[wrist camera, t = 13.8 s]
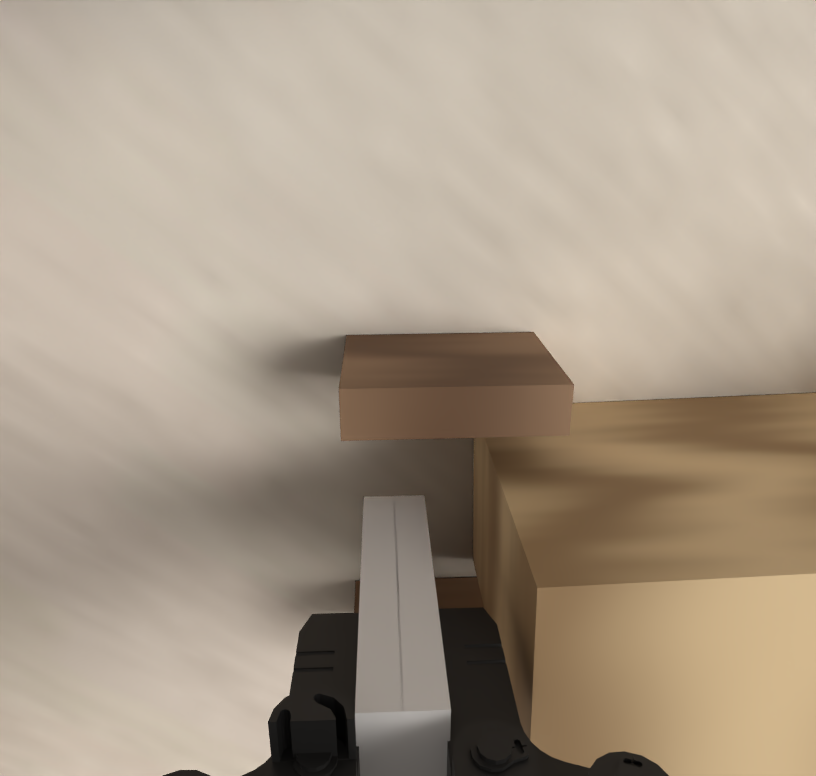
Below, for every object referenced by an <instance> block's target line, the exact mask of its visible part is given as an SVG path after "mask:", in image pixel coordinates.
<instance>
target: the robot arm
mask: <svg viewBox="0 0 816 776" xmlns="http://www.w3.org/2000/svg"><path fill="white" fill-rule="evenodd" d="M268 727H269V737H270V747H271V757H270V758H269V759H268V760H267V761H266V762H265V763H264V764H262V765H261V766H259V767H258V768H257V769H255V770H254V771H251V772H249V773H247V774H245V775H242V776H669V775H668V774H667V773H666V772H665V771H664V770H663V769H662V768H661V767H660V766H659V765H658V764H656V763H654V762H652V761H651V760H649V759H647V758H645V757H644V756H642V755H638V754H634V753H630V752H626V751H622V752H609V753H607V754H605V755H603V756H601V757H599V758H597V759H596V760H595V762H594V763H593V765H592V766H591V768H588V767H584V766H580V765H576V764H572V763H568V762H564V761H562V760H559V759H556V758H553V757H551V756H549V755H548V754H546V753H544V752H543V751H541V750H540V749H539V748H538V747H536V746H535V745H534V744H533V743H532V742H531V741H530V739H529V738H528V737H527V735H526V734H525V732H524V730H523V727H522V725H521V722H520V718H519V714H518V710H517V706H516V701H515V697H514V693H513V689H512V685H511V681H510V676H509V672H508V668H507V664H506V660H505V655H504V651H503V648H502V643H501V639H500V634H499V630H498V626H497V623H496V622H495V621H494V620H493V619H492V618H491V616H490V615H489V614H488V613H487V612H486V610H485V609H484V608H483V607H478V608H444V609H438V601H437V593H436V585H435V577H434V569H433V561H432V553H431V545H430V537H429V529H428V521H427V513H426V505H425V497H424V495H414V496H371V497H364V501H363V526H362V550H361V575H360V599H359V613H331V614H312V615H311V617H310V618H309V619H308V621H307V622H306V624H305V625H304V626H303V628H302V629H301V630H300V632H299V638H298V644H297V650H296V657H295V663H294V672H293V676H292V682H291V689H290V695H289V696H287V697H285V698H284V699H283V700H282V701H281V702H280V703H279V704H278V705H277V706H276V707H275V708H274V709H273V712H272V714H271V716H270V719H269V721H268ZM163 776H210V775H207V774H205V773H202V772H200V771H197V770H179V771H176V772H173V773H169V774H166V775H163Z"/></svg>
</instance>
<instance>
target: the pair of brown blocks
mask: <svg viewBox="0 0 816 776" xmlns="http://www.w3.org/2000/svg"><path fill="white" fill-rule="evenodd" d="M573 390H574V384H573V383H572V381H571V380H570V379H569V377H568V376H567V375H566V374H565V372H564V371H563V370H562V368H561V367H560V366H559V364H558V363H557V362H556V361H555V359H554V358H553V357H552V355H551V354H550V353H549V351H548V350H547V349H546V348H545V346H544V345H543V344H542V342H541V341H540V340H539V338H538V337H537V336H536V335H535V333H534V332H516V333H453V334H390V335H346V342H345V349H344V356H343V363H342V370H341V377H340V384H339V405H340V429H341V441H352V440H398V439H444V438H489V437H535V436H570V424H571V413H572V402H573ZM435 585H436V593H437V601H438V609H444V608H478V607H483V608H484V606H483V601H482V597H481V592H480V588H479V583H478V579H477V577H468V578H435ZM359 599H360V581H356V583H355V605H354V613H359Z"/></svg>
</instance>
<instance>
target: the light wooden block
mask: <svg viewBox="0 0 816 776" xmlns="http://www.w3.org/2000/svg"><path fill="white" fill-rule="evenodd" d="M473 561H474V566H475V570H476V575H477V579H478V583H479V588H480V592H481V597H482V601H483V606H484V609H485V610H486V612H487V613H488V614H489V615H490V616H491V618H492V619H493V620H494V621H495V622H496V623H497V626H498V630H499V634H500V639H501V643H502V648H503V651H504V655H505V660H506V664H507V668H508V672H509V676H510V681H511V685H512V689H513V693H514V697H515V701H516V706H517V710H518V714H519V718H520V722H521V725H522V727H523V730H524V732H525V734H526V735H527V737H528V738H529V739H530V741H531V742H532V743H533V744H534V745H535V746H536V747H538V748H539V749H540V750H541V751H543V752H544V753H546V754H548V755H549V756H551V757H553V758H556V759H559V760H562V761H564V762H568V763H572V764H576V765H580V766H584V767H588V768H591V766H592V765H593V763H594V762H595V760H596V759H597V758H599V757H601V756H603V755H605V754H607V753H609V752H622V751H626V752H630V753H634V754H638V755H642V756H644V757H645V758H647V759H649V760H651V761H652V762H654V763H656V764H658V765H659V766H660V767H661V768H662V769H663V770H664V771H665V772H666V773H667V774H668V775H669V776H816V393H797V394H774V395H751V396H728V397H705V398H682V399H659V400H636V401H613V402H590V403H572V413H571V424H570V436H535V437H489V438H474V483H473Z"/></svg>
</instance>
